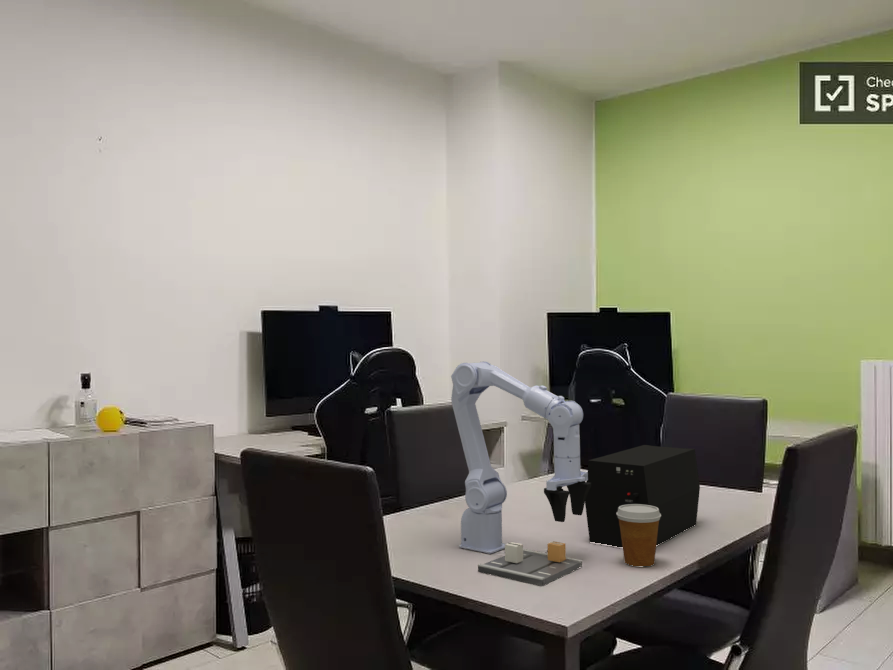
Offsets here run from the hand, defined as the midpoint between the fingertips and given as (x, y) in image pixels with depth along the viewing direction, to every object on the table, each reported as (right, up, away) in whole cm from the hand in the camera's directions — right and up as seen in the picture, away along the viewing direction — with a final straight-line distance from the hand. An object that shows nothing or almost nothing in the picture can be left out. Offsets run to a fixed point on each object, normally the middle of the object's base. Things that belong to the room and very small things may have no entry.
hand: (568, 518), depth 170 cm
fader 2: (-3, -8, -4) cm, 10 cm away
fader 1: (-12, -8, -4) cm, 15 cm away
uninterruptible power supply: (+22, -10, +22) cm, 33 cm away
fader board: (-9, -10, -5) cm, 14 cm away
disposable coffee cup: (+15, -10, -2) cm, 18 cm away
